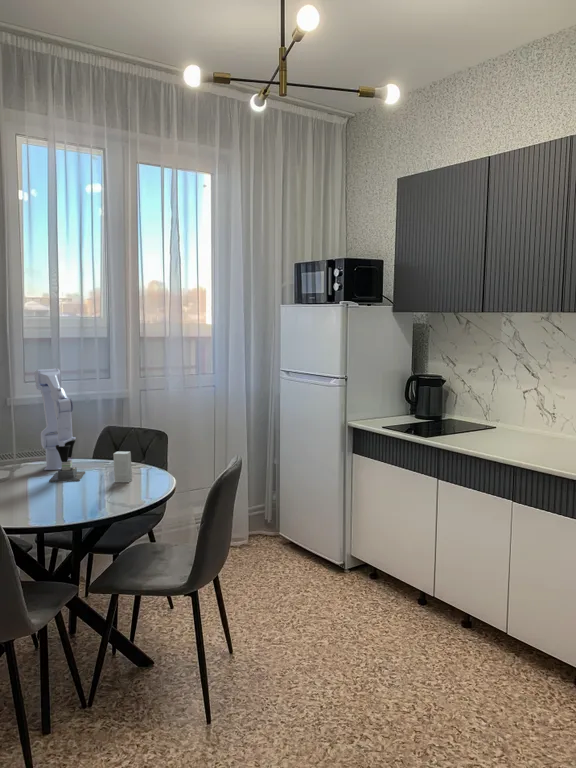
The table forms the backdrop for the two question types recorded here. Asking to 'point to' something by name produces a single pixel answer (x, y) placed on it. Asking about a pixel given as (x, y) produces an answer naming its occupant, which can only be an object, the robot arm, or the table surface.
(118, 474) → the skincare box
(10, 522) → the table surface
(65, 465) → the column
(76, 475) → the stand base
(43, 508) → the table surface
